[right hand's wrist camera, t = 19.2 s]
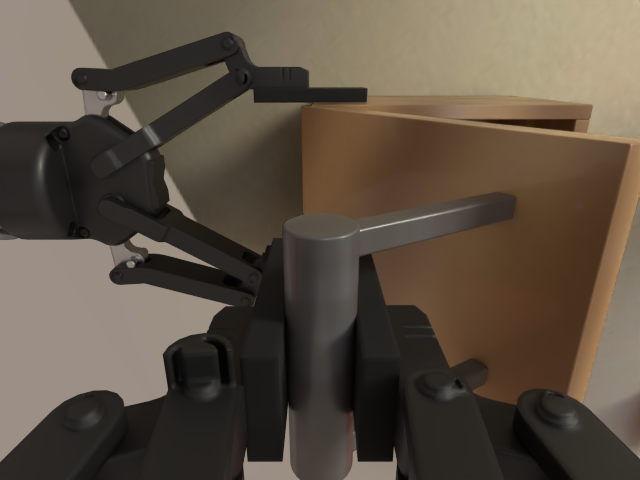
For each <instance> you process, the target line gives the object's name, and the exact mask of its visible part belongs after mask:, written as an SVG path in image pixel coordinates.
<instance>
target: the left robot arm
mask: <svg viewBox="0 0 640 480" xmlns="http://www.w3.org/2000/svg"><path fill="white" fill-rule="evenodd" d="M222 62H226V65H227V67H228V70H229V73H228V74H226V75H225V76H223V77H222V78H220V79H218V80H217V81H215V82H214V83H212V84H211V85H209V86H208V87H206V88H205V89H203V90H202V91H200V92H198V93H197V94H195V95H194V96H192V97H191V98H189V99H188V100H186V101H185V102H183V103H182V104H180V105H178V106H177V107H175V108H174V109H172V110H171V111H169V112H168V113H166V114H165V115H163V116H161V117H160V118H158V119H157V120H155V121H154V122H152V123H151V124H149V125H147V126H145V127H143V128H141V129H140V130H138V131H137V132H134V131H132V130H131V129H129V128H128V127H126V126H125V125H123V124H122V123H120V122H119V121H117V120H116V119H115V118H113V117H111V116H110V115H109V109H110V107H111V106H113V105H115V104H119V103H121V102H122V101H123V99H124V91H129V90H137V89H141V88H145V87H148V86H151V85H154V84H157V83H160V82H163V81H166V80H169V79H172V78H176V77H179V76H182V75H185V74H188V73H191V72H194V71H197V70H200V69H203V68H206V67H209V66H213V65H216V64H219V63H222ZM71 79H72V82H73V84H74V85H75V86H76V87H77V88H78V89H81V90H82V92H83V100H84V108H85V116H83V117H81V118H80V119H78V120H76V121H74V122H10V123H7V124H6V123H2V122H0V240H10V239H17V238H20V239H27V240H35V239H37V240H43V239H44V240H47V239H48V240H72V239H94V240H98V241H100V242H102V243H104V244H107V245H110V248H111V252H112V256H113V260H114V264H115V268H114V269H113V270H112V271H111V272H110V274H109V276H110V279H111V281H112V282H113V283H115V284H119V285H124V284H141V283H146V284H149V285H153V286H157V287H161V288H166V289H169V290H173V291H177V292H181V293H185V294H189V295H193V296H197V297H201V298H205V299H209V300H213V301H217V302H221V303H225V304H229V305H233V306H253V304H254V301H255V298H256V295H257V293H258V290H259V287H260V283H261V280H262V276H263V273H264V269H265V266H266V262H267V259H268V255H269V252H270V248H271V245H267V248H266V251H265V253H264V252H263V254H262V256H261V255H259V254H257V253H255V252H253V251H251V250H249V249H247V248H245V247H243V246H242V245H240V244H238V243H236V242H234V241H232V240H230V239H228V238H226V237H224V236H222V235H220V234H218V233H216V232H215V231H213V230H211V229H209V228H207V227H205V226H203V225H201V224H199V223H197V222H195V221H193V220H191V219H189V218H187V217H186V216H184V215H183V213H182V212H181V211H180V210H178V209H176V208H174V207H172V206H171V205H169V204H167V202H168V201H169V193H168V188H167V186H166V183H165V181H164V171H165V162H164V155H160V153H159V151H158V150H157V148H159V147H160V146H162V145H164V144H165V143H167V142H168V141H170V140H171V139H173V138H174V137H175V136H177V135H178V134H180V133H182V132H183V131H185V130H186V129H188V128H190V127H191V126H193V125H194V124H196V123H197V122H199V121H201V120H202V119H204V118H205V117H207V116H208V115H210V114H212V113H213V112H215V111H216V110H218V109H219V108H221V107H223V106H224V105H226V104H227V103H229V102H231V101H232V100H234V99H235V98H237V97H238V96H240V95H242V94H243V93H245V92H246V91H248V90H249V89H253V91H254V103H264V102H367V88H309V71H308V70H305V69H303V68H301V67H258V66H256V65H254V64H253V63H252V62H251V60H250V58H249V56H248V53H247V51H246V48H245V43H244V41H243V39H241V38H240V37H239V36H237V35H235V34H232V33H230V32H223V33H220V34H217V35H214V36H211V37H208V38H205V39H202V40H199V41H196V42H193V43H190V44H187V45H184V46H181V47H178V48H175V49H172V50H169V51H166V52H163V53H160V54H157V55H154V56H151V57H148V58H145V59H142V60H139V61H136V62H133V63H130V64H127V65H124V66H120V67H117V68H114V69H99V68H77V69H75V70H74V71H73V72H72V75H71ZM137 233H140V234H142V235H144V236H146V237H148V238H150V239H152V240H154V241H157V242H166V243H169V244H171V245H172V246H174V247H177V248H178V249H181V250H183V251H184V252H186V253H188V254H190V255H192V256H194V257H196V258H198V259H200V260H202V261H204V262H206V263H208V264H210V265H212V266H214V267H216V268H218V269H216V268H212V267H208V266H204V265H200V264H197V263H193V262H189V261H185V260H181V259H177V258H174V257H170V256H166V255H161V254H148V250H147V249H146V248H140V247H136V246H134V245H133V244H132V243H131V242H130V238H131V237H133V236H134V235H135V234H137Z"/></svg>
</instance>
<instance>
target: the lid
mask: <svg viewBox="0 0 640 480" xmlns="http://www.w3.org/2000/svg"><path fill="white" fill-rule="evenodd" d="M301 116H302V176H303V215H301V216H297V217H293V218H291V219H289V220H287V221H286V222H285V223H284V224H283V227H282V236H283V264H284V292H285V321H286V349H287V377H288V405H289V434H290V462H291V467H292V470H293V472H294V473H295V475H296V476H297V477H298V478H299V479H300V480H343V479H344V478H345V477H346V476H347V474H348V473H349V471H350V469H351V466H352V456H353V451H355V450H357V447H356V437H355V427H354V416H353V393H354V363H355V334H356V315H357V307H358V277H359V257H361V256H365V255H369V254H372V258H373V261H374V265H375V268H376V272H377V275H378V279H379V282H380V286H381V289H382V292H383V296H384V299H385V303H386V305H415V306H416V307H418V308H419V309H420V310H421V311H422V312H424V313H425V314H426V315H427V317H428V319H429V322H430V324H431V326H432V328H433V331H434V333H435V335H436V338H437V340H438V342H439V344H440V346H441V349H442V351H443V353H444V355H445V358H446V360H447V362H448V364H449V367H450V369H451V371H453V372H455V373H457V374H459V375H460V376H461V377H462V378H464V379H465V380H466V381H467V382H468V384H469V385H470V387H471V389H472V391H473V393H475V394H477V395H479V396H482V397H485V398H488V399H492V400H496V401H500V402H505V403H509V404H514V405H516V404H517V399H518V397H519V396H520V395H521V394H522V393H523V392H524V391H528V390H531V389H549V390H553V391H557V392H561V393H564V394H566V395H568V396H570V397H572V398H574V399H576V400H578V401H579V402H580V403H582V404H583V401H584V397H585V393H586V390H587V386H588V382H589V379H590V375H591V371H592V368H593V364H594V360H595V357H596V353H597V349H598V345H599V342H600V338H601V334H602V331H603V327H604V323H605V320H606V316H607V312H608V309H609V305H610V301H611V298H612V294H613V290H614V287H615V283H616V279H617V276H618V272H619V268H620V265H621V261H622V257H623V254H624V250H625V246H626V243H627V239H628V235H629V232H630V228H631V224H632V221H633V217H634V213H635V210H636V206H637V202H638V199H639V195H640V139H637V138H627V137H618V136H608V135H599V134H589V133H579V132H570V131H560V130H551V129H541V128H532V127H522V126H512V125H503V124H493V123H484V122H474V121H464V120H455V119H445V118H436V117H426V116H417V115H407V114H397V113H388V112H378V111H369V110H359V109H350V108H340V107H330V106H321V105H315V106H302V107H301Z"/></svg>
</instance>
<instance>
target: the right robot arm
mask: <svg viewBox="0 0 640 480" xmlns="http://www.w3.org/2000/svg"><path fill="white" fill-rule="evenodd" d="M163 359H164V365H165V371H166V378H167V384H168V392H167V394H166V395H165V396H163V397H161V398H158V399H155V400H151V401H148V402H143V403H139V404H135V405H130V406H126V407H124V402H123V399H122V398H121V397H120V396H119V395H118V394H117V393H114V392H110V391H107V390H102V391H91V392H87V393H83V394H79V395H77V396H75V397H73V398H71V399H69V400H67V401H64V402H63V403H62V404H60V405H59V406H58V407H57V408H55V409H54V410H53V411H52V412H51V413H50V414H49V415H47V417H45V419H43V420H42V421H41V423H39V424H38V425H37V426H36V427H35V428H34V429H33V430H32V431H31V432H30V433H29V434H28V435H27V436H26V437H25V438H24V439H23V440H22V441H21V442H20V443H19V444H18V445H17V446H16V447H15V448H14V449H13V450H12V451H11V452H10V453H9V454H8V455H7V456H6V457H5V458H4V459H3V460H2V461H1V462H0V480H244V471H243V462H244V457H245V451H246V447H247V458H248V461H249V462H282V461H283V451H284V440H285V430H286V420H287V409H288V377H287V349H286V321H285V292H284V264H283V238H273V241H272V245H271V248H270V252H269V255H268V259H267V262H266V266H265V269H264V273H263V276H262V280H261V283H260V287H259V290H258V294H257V297H256V301H255V304H254V306H226V307H224V308H223V309H222V310H221V311H220V312H218V313H217V314H216V315H215V316H214V317H213V320H212V322H211V324H210V327H209V330H208V331H207V333H202V334H196V335H190V336H187V337H185V338H182V339H179V340H178V341H176V342H175V343H173V344H172V345H170V346H169V347H168V348H167V349H166V351H165V352H164V354H163ZM353 416H354V427H355V437H356V447H357V457H358V461H359V462H392V461H393V450H394V448H395V453H396V458H397V471H396V480H640V459H639V458H638V457H637V456H636V455H635V454H634V453H633V452H632V451H631V450H630V449H629V448H628V447H627V446H626V445H625V444H624V443H623V442H622V441H621V440H620V439H619V438H618V437H617V436H616V435H615V434H614V433H613V432H612V431H611V430H610V429H609V428H608V427H607V426H606V425H605V424H604V423H603V422H602V421H601V420H599V419H598V418H597V417H596V416H595V415H594V414H593V413H592V412H591V411H590V410H589V409H588V408H587V407H586V406H584V405H583V404H582V403H580V402H579V401H578V400H576V399H574V398H572V397H570V396H568V395H566V394H564V393H561V392H557V391H553V390H549V389H531V390H528V391H524V392H523V393H522V394H521V395H520V396H519V397H518V399H517V404H516V405H514V404H509V403H505V402H500V401H496V400H492V399H488V398H485V397H482V396H479V395H477V394H475V393H473V391H472V389H471V387H470V385H469V384H468V382H467V381H466V380H465V379H464V378H462V377H461V376H460V375H459V374H457V373H455V372H453V371H451V369H450V367H449V364H448V362H447V360H446V358H445V355H444V353H443V351H442V349H441V346H440V344H439V342H438V340H437V338H436V335H435V333H434V331H433V328H432V326H431V324H430V322H429V319H428V317H427V315H426V314H425V313H424V312H422V311H421V310H420V309H419V308H418V307H416V306H415V305H386V303H385V299H384V296H383V292H382V289H381V286H380V282H379V279H378V275H377V272H376V268H375V265H374V261H373V258H372V254H369V255H365V256H361V257H359V277H358V307H357V315H356V334H355V363H354V393H353Z"/></svg>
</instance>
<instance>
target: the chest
mask: <svg viewBox="0 0 640 480" xmlns="http://www.w3.org/2000/svg"><path fill="white" fill-rule="evenodd" d="M315 105H321V106H330V107H340V108H350V109H359V110H369V111H378V112H388V113H397V114H407V115H417V116H426V117H436V118H445V119H455V120H464V121H474V122H484V123H493V124H503V125H512V126H522V127H532V128H541V129H551V130H560V131H570V132H579V133H587V130H588V126H589V121H590V120H589V119H590V117H591V112H592V108H593V105H590V104H581V103H572V102H563V101H553V100H544V99H535V98H526V97H516V96H367V102H313V103H312V105H311V106H315Z"/></svg>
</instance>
